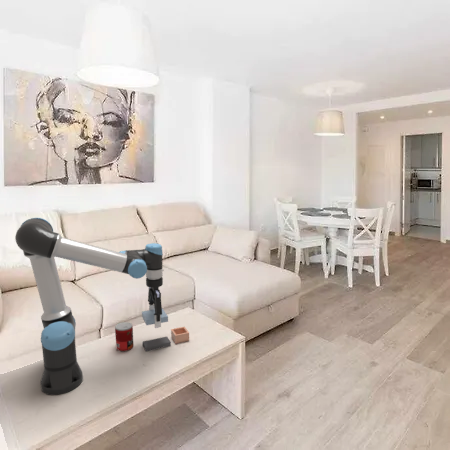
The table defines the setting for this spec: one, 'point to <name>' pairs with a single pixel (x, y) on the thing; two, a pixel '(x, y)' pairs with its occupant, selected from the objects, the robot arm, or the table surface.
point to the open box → (179, 335)
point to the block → (156, 343)
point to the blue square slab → (153, 317)
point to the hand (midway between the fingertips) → (154, 322)
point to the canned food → (124, 336)
